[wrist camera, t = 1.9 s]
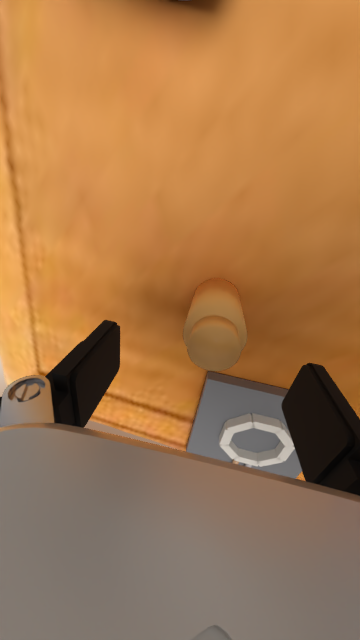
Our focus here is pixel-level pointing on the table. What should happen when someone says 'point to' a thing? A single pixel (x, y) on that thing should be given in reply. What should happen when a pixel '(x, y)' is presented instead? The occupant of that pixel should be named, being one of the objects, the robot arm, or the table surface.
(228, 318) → the tan wooden peg
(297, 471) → the plate
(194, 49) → the table surface
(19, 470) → the robot arm
